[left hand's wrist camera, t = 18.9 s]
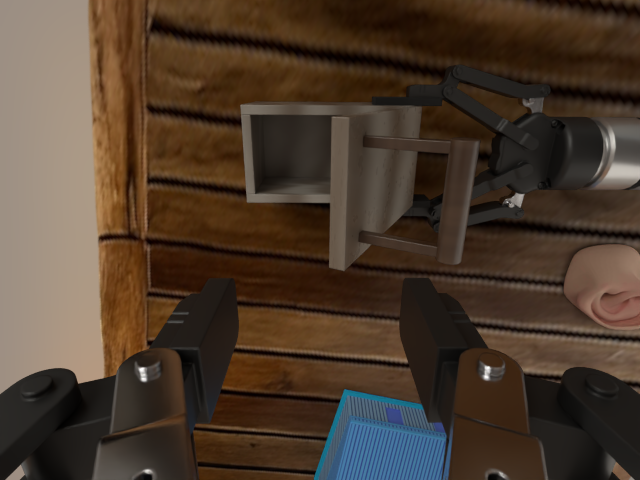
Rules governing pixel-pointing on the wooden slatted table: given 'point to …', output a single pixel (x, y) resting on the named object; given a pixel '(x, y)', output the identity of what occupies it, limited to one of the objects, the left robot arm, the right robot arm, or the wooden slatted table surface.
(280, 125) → the chest
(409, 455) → the model building
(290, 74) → the wooden slatted table surface
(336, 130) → the lid
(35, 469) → the left robot arm
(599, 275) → the anatomical model
